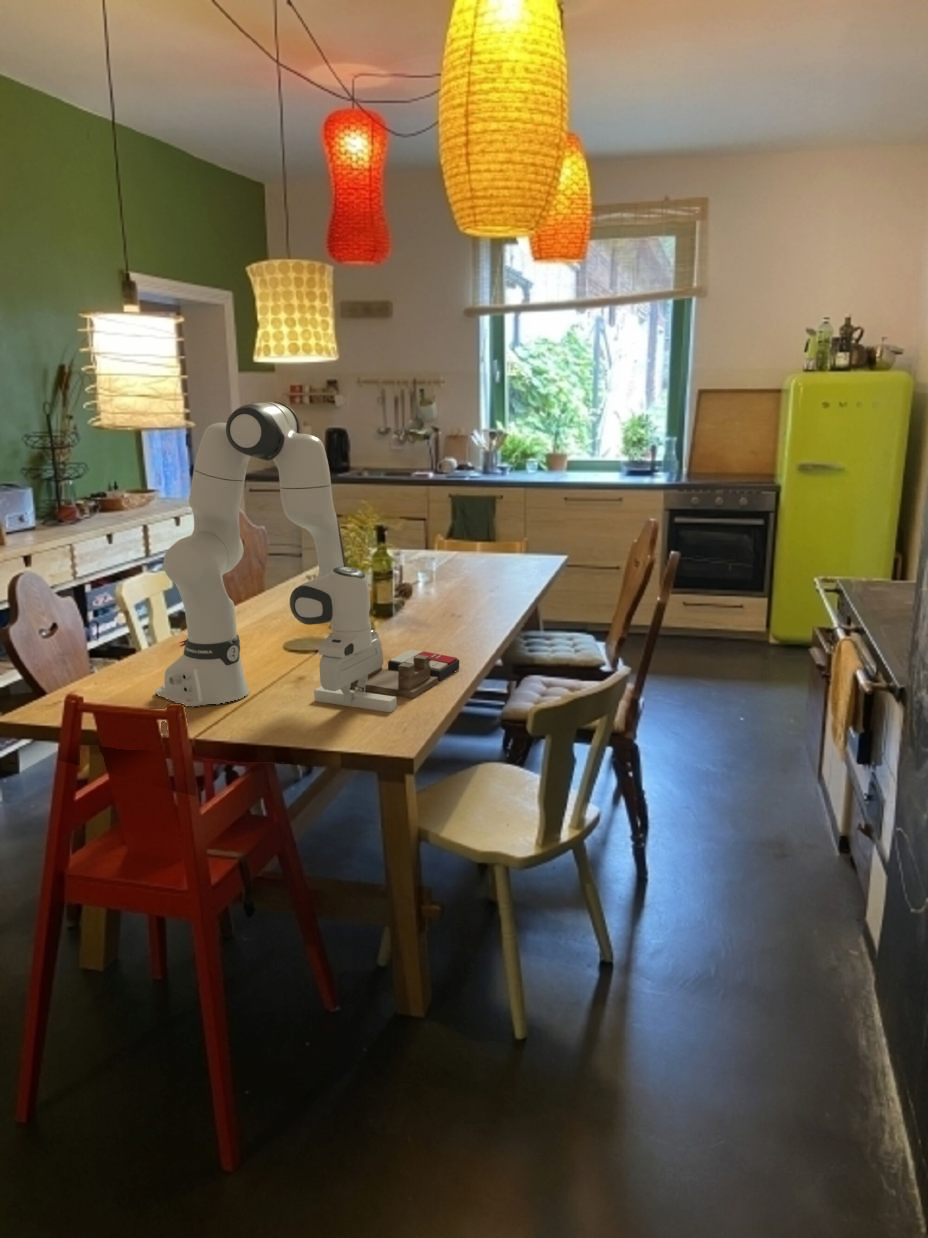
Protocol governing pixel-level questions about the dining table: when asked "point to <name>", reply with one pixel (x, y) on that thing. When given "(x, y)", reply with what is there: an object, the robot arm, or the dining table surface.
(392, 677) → the rack
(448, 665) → the calculator
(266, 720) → the dining table surface
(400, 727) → the dining table surface
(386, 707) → the clay strip
